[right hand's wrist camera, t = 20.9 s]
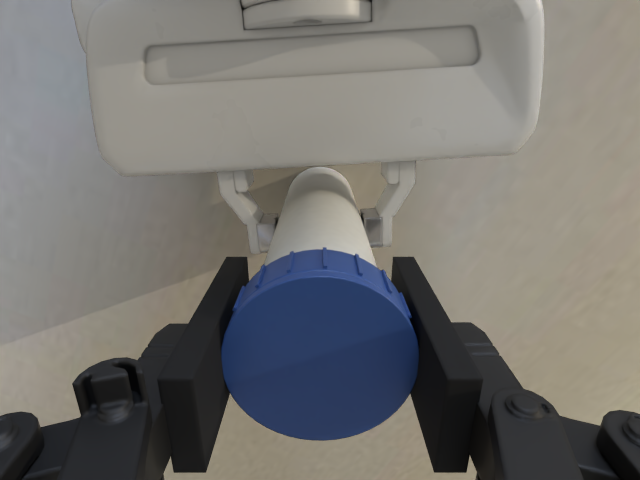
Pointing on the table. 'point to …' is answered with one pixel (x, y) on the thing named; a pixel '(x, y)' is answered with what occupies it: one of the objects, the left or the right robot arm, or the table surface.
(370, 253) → the white bottle
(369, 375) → the lid
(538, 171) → the table surface
